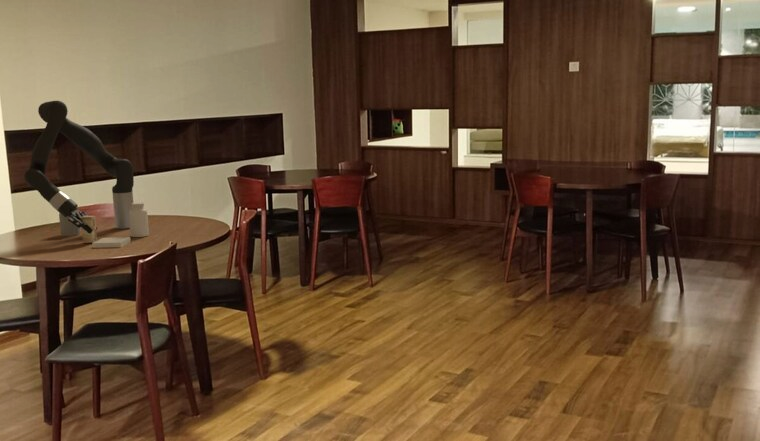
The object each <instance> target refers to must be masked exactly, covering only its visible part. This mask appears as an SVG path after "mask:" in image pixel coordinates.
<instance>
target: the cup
mask: <svg viewBox="0 0 760 441" xmlns="http://www.w3.org/2000/svg"><path fill="white" fill-rule="evenodd" d="M69 218H70V217H69V216H68V217H64V216H63V215H61V214H60V213H59V214H58V220H59V226H60V227H59V229H60V236H61V237H76V236H80V235H82V232H81V227H80V228H78V227H77V226H75V225H74V224H73V223H71V222H70V221H68V219H69Z"/></svg>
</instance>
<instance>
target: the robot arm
mask: <svg viewBox="0 0 760 441" xmlns="http://www.w3.org/2000/svg"><path fill="white" fill-rule="evenodd" d="M37 111H38V115H39V117H40V118H41V120H43V121H44V122H45V123H46V126H45V127H44V129H43V132H42V133H41V135H40V136H39V137H38V138H37V140H36V142H35V144H34V146H33V149H32V152H31V154H30V155H31V156H30V164H29V168H28V169H27V170H26V171H25V172H24V176H23V177H24V181H25V182H26V183H25V184H26V185H27V186H28V187H29V188H33V189H34V190H36V192H38V193H39V195H40V196H41V197H42V198H43V199H44V200H45V201H47V203H49V205H50V206H51V207H52V208H53V209H54V210H55V211H57V212H58V213H59V214H61V215H63V216H64V217H68V216H69V217H70V218H69V219H68V221H70V222H71V223H73V224H74V225H75V226H77V227H78V228H80V229H82V228H83V229H84V230H86V231H87V232H88V233H89V234H90V233H91V232H92V231H93V229H91V228H90V227H89V226H88V225H87V224H86V223H85V222H84V221H83V219H82V218H81V217H83V216H89V215H88V213H87V212H85V210H82V211H81V210H79V209H78V206H79V205H78V204H77V203H76V202H75V201H74V200H73V199H71V197H70V196H69V195H67V194H66V193H64V191H62V190H60V189H59V188H58V187H57V186H56V185H55V184H53V183H52V182H51V180H50V179H49V178H47V176H46V171H47V166H48V163H49V160H50V157H51V154H52V153H51V152H52V150H53V147H54V145H55V144H54V143H55V141H56V139H57V137H58V135H59V133H61V134H62V135H64V137H66V138H67V139H68V140H69V141H71V143H73V144H74V145H75V146H76V147H77V148H79V150H81V151H82V152H83V153H84V154H86V155H87V156H89V158H91V159H92V160H94V161H95V162H97V163H98V164H99V165H100V167H101V168H103V170H104V171H105V172H106V173H107V174H109V176H111V177H112V178H115V179H116V183H115V185H113V186H112V187H111V191H112V202H113V203H112V204H113V211H114V212H113V213H114V214H113V215H114V225H115V226H114V227H115V229H122V230H123V229H130V222H129V211H130V210H131V209H132V206H131V204H132V203H134V192H133V188H134V183H135V182H134V167H133V163H132V162H131V161H130V160H129V159H126V158H117V157H115V156H114V155H113V154H111V153H110V152H108V150H106V148H105V146H104V144H103V142H102V141H101V139H100V138H99V137H98V136H97V135H96V134H95V133H94V132H92V131H91V130H90V129H89V128H86V127H85V126H83V125H80V124H78V123H76V122H74V121H72V120H70V119H69V118H67V116H68V107H67V105H66V103H64V102H63V101H61V100H50V101H45V102H43V103H41V104H40V105H39V106H38V110H37ZM97 230H98V227H97V226H96V231H97Z"/></svg>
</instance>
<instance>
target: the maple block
mask: <svg viewBox="0 0 760 441" xmlns="http://www.w3.org/2000/svg"><path fill="white" fill-rule="evenodd" d="M81 218H82V219H83V221H84V222H85V223H86V224H87V225H88V226H89V227H90V228H91V229H93V231H92V232H91V233H90V234H89V233H88V232H87V231H86V230H84V229H83V228H81V236H82V243H83V244H84V243H86V244H87V243H88V244H89V243H94V242H96V241H98V236H97V235H98V233H97V230H96V227H97V222H96V215H88V216H83V217H81Z"/></svg>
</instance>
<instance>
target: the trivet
mask: <svg viewBox="0 0 760 441" xmlns="http://www.w3.org/2000/svg"><path fill="white" fill-rule="evenodd" d="M131 240H132V239H131V236H128V237H127V236H122V237H119V236H118V237H101V238H100V239H97V241H95V242H91V244H92V249H93V248H94V249H102V248H122V247H124V246H125V245H126V246H127V244H129V243H131V242H132V241H131Z"/></svg>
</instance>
